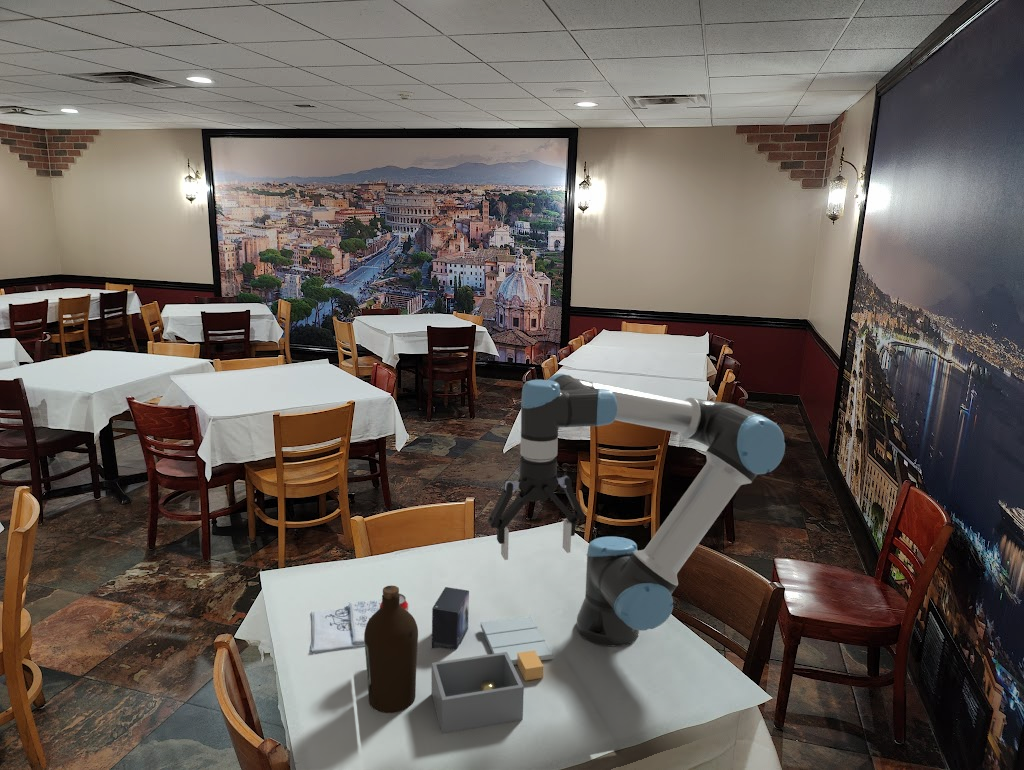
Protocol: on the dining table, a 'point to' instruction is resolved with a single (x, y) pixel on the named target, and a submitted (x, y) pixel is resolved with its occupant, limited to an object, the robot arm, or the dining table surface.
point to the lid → (519, 643)
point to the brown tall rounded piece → (391, 655)
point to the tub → (476, 692)
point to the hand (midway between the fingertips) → (535, 553)
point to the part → (488, 685)
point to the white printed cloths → (341, 626)
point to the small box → (450, 618)
